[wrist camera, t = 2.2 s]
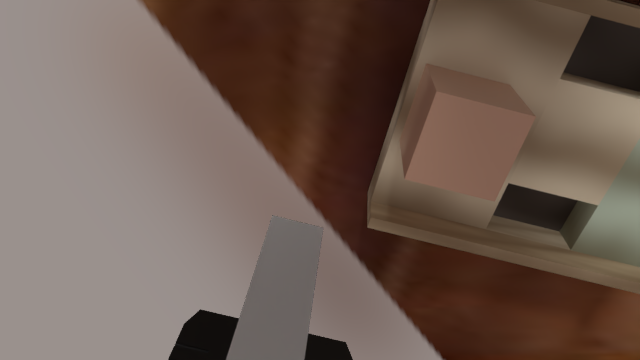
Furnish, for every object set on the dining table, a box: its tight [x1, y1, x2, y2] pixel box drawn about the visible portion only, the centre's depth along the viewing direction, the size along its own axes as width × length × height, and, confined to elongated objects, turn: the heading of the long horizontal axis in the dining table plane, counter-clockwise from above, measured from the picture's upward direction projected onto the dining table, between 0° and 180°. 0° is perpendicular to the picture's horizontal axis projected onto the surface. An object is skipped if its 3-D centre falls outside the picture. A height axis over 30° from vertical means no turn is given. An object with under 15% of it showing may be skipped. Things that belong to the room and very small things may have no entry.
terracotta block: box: [399, 63, 536, 202], centre depth 27 cm, size 5×5×5 cm
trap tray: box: [367, 0, 640, 294], centre depth 29 cm, size 16×20×6 cm
